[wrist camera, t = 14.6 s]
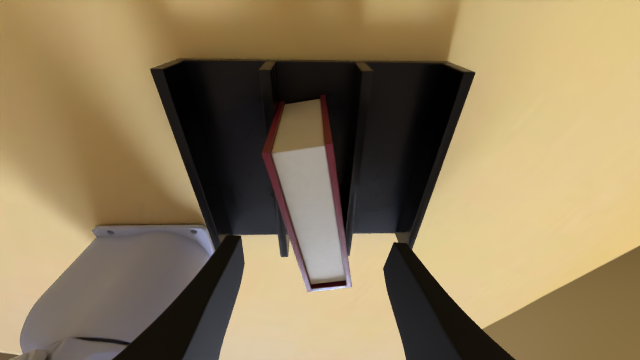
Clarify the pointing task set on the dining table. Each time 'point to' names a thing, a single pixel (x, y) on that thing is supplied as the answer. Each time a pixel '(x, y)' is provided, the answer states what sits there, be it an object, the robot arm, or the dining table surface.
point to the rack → (346, 129)
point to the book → (309, 191)
